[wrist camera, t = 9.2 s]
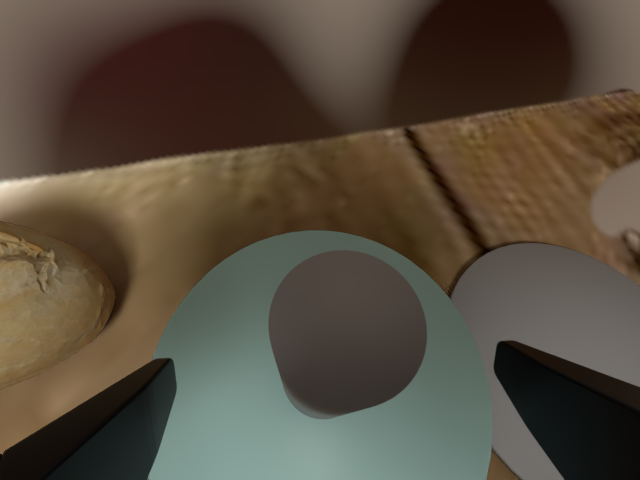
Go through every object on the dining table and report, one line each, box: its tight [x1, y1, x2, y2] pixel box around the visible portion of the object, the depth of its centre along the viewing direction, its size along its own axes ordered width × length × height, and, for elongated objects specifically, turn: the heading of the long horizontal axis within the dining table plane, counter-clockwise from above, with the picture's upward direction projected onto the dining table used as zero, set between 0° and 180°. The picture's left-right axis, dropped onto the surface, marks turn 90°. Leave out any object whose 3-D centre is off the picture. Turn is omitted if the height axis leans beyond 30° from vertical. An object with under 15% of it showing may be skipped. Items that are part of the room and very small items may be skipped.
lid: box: [148, 230, 493, 480], centre depth 11 cm, size 15×15×9 cm
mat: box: [450, 243, 640, 480], centre depth 20 cm, size 17×17×1 cm
